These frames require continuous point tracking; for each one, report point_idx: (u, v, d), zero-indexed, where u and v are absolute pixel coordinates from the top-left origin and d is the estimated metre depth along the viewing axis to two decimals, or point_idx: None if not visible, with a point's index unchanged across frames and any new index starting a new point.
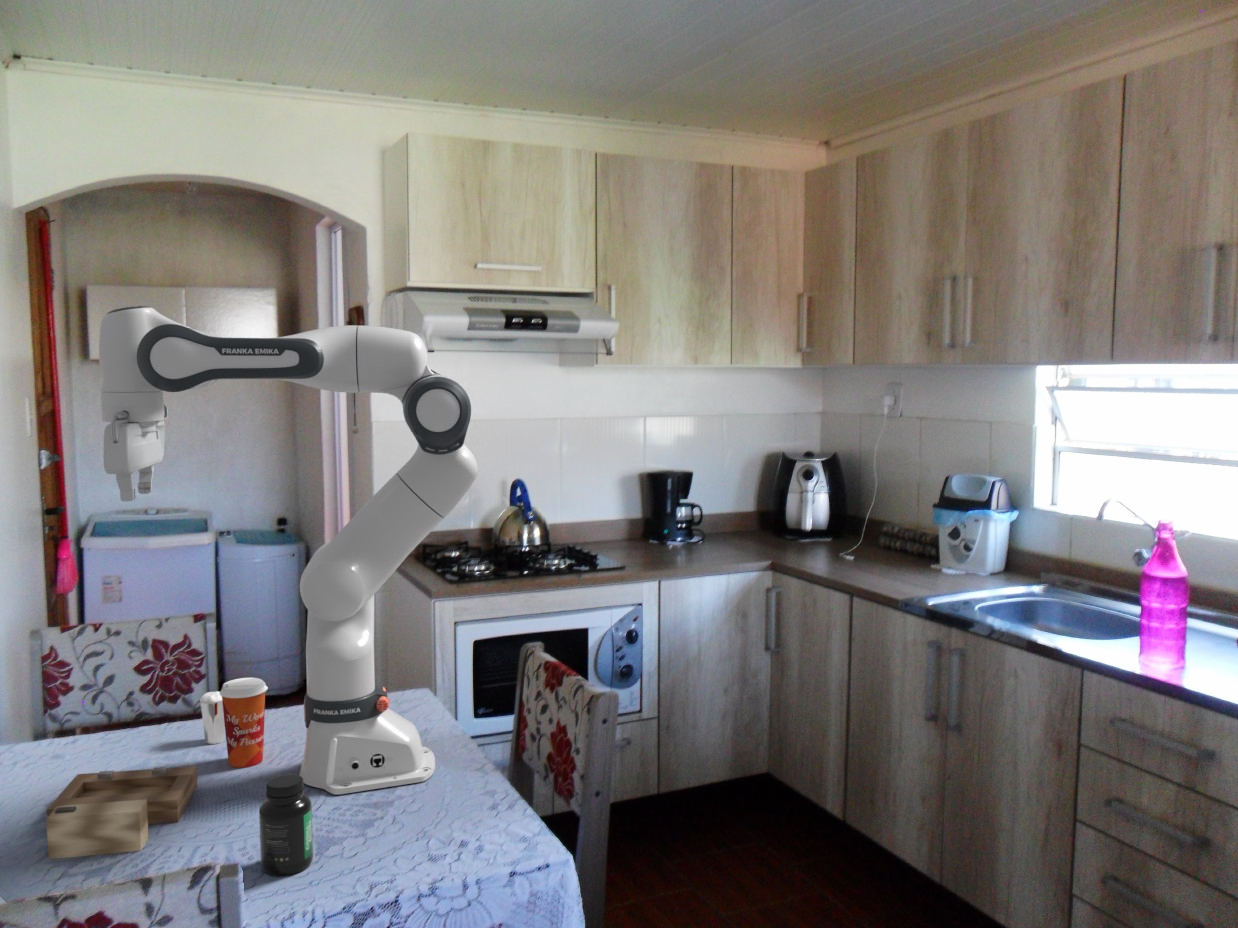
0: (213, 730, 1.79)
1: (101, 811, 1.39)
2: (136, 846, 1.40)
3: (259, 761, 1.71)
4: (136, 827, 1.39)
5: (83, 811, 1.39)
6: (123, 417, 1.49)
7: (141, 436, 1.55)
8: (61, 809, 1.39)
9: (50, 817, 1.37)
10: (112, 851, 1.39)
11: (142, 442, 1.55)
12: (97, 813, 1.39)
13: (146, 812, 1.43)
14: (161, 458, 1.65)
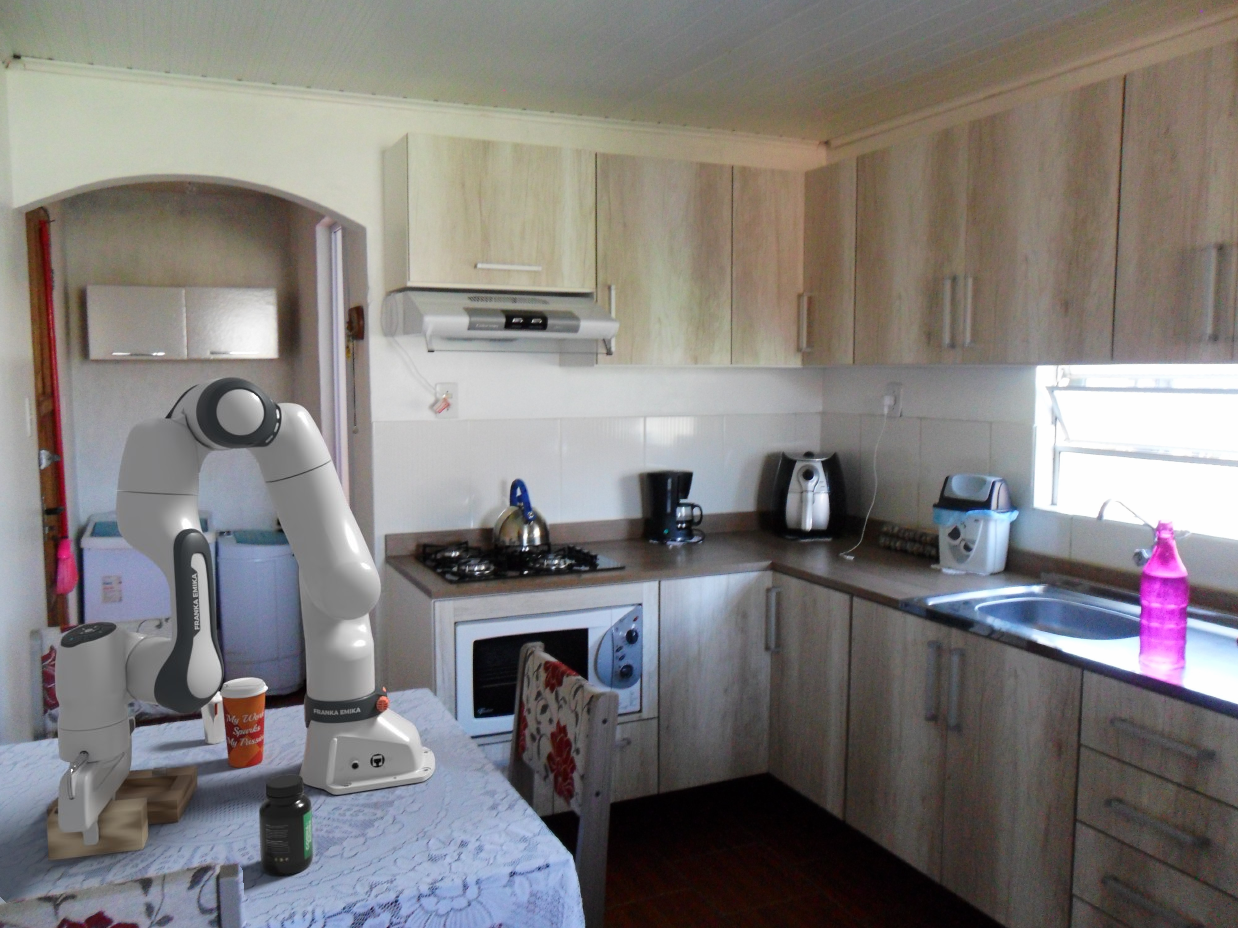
0: (213, 730, 1.79)
1: (102, 810, 1.39)
2: (138, 844, 1.40)
3: (259, 761, 1.71)
4: (138, 825, 1.40)
5: None
6: (81, 763, 1.33)
7: (103, 771, 1.38)
8: None
9: (50, 817, 1.37)
10: (113, 849, 1.39)
11: (104, 776, 1.39)
12: None
13: (146, 810, 1.43)
14: (128, 772, 1.48)
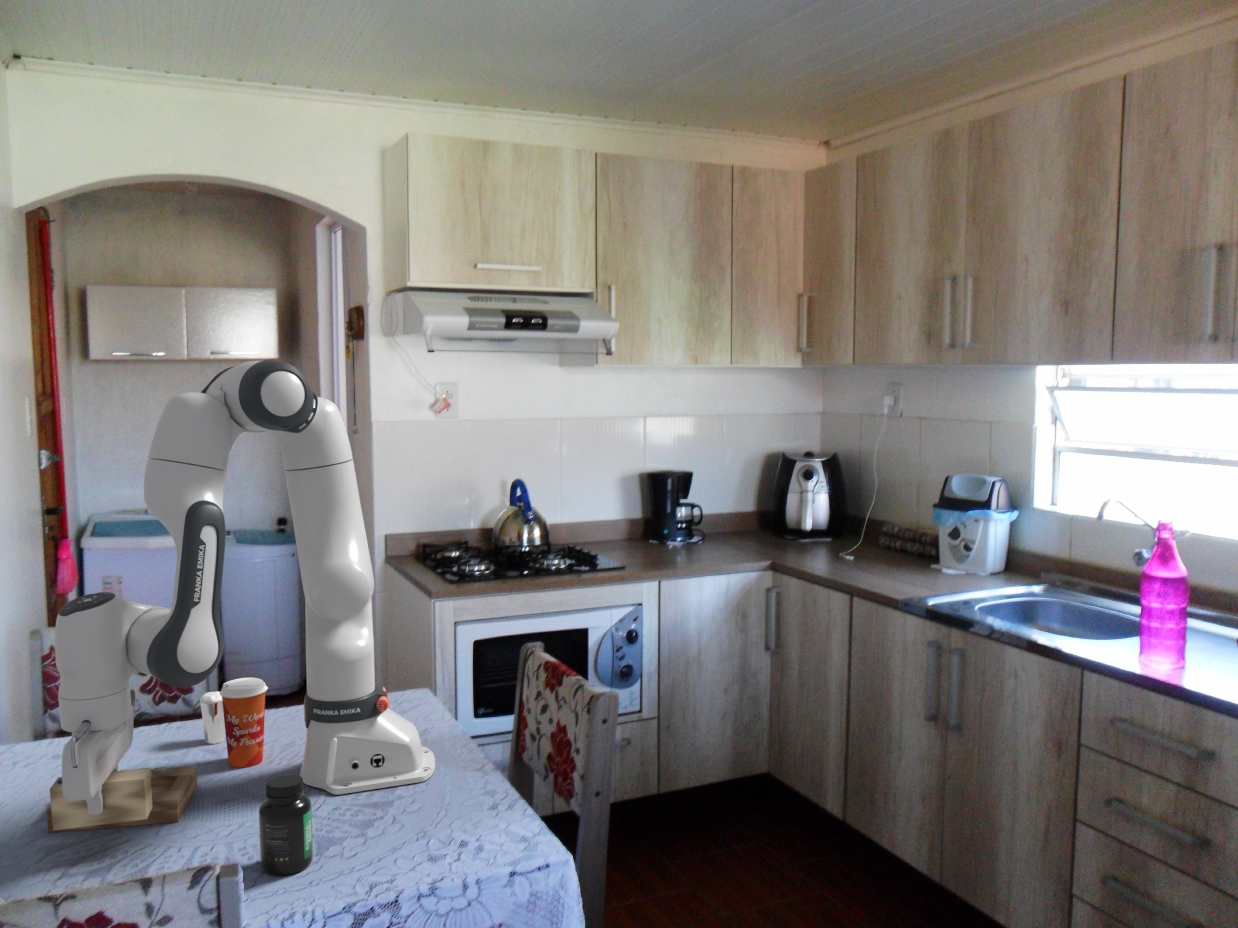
0: (213, 730, 1.79)
1: None
2: (142, 814, 1.39)
3: (259, 761, 1.71)
4: (141, 794, 1.39)
5: None
6: (84, 731, 1.32)
7: (105, 740, 1.38)
8: None
9: (53, 787, 1.37)
10: (117, 819, 1.39)
11: (107, 746, 1.38)
12: None
13: (150, 780, 1.43)
14: (130, 744, 1.48)
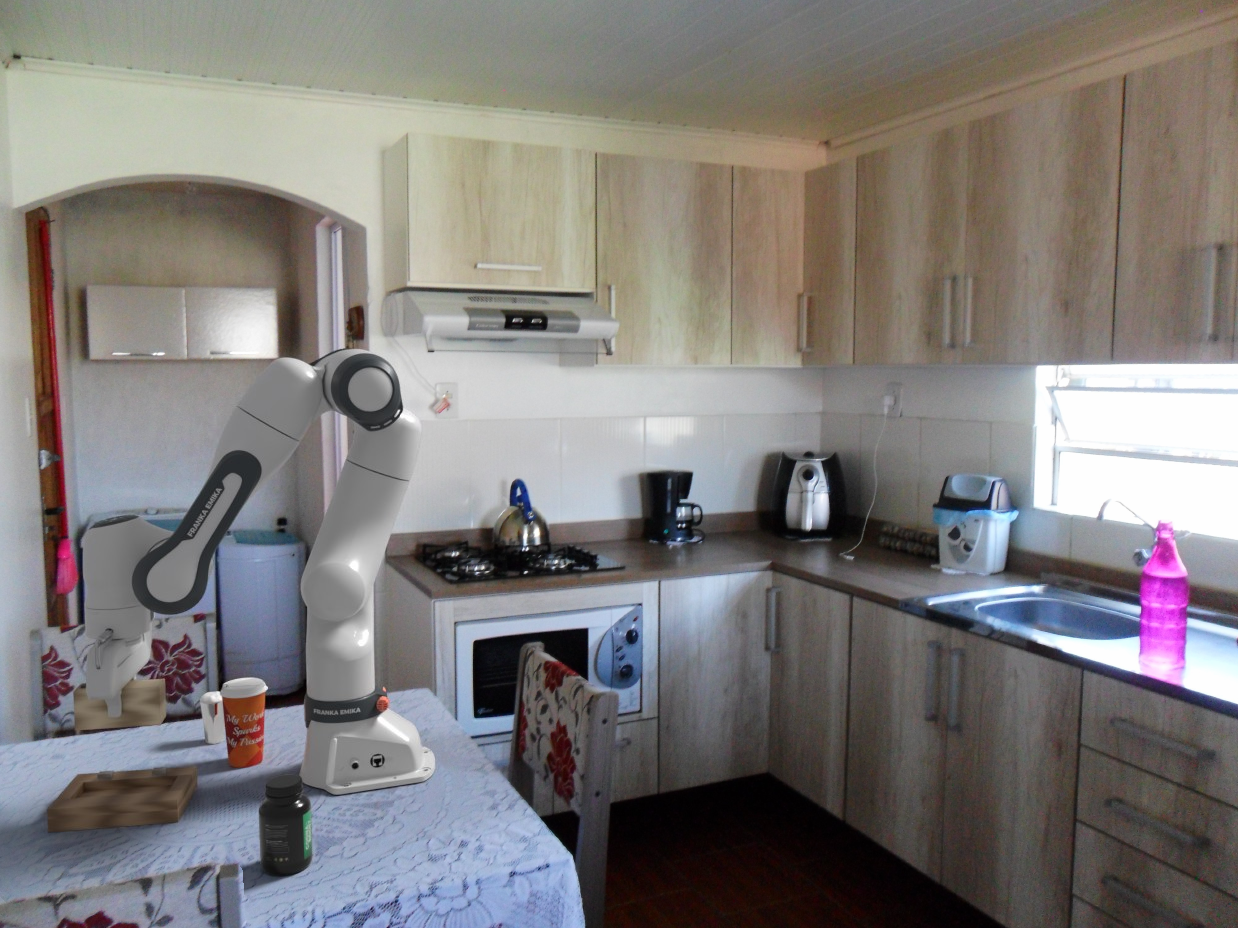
0: (213, 730, 1.79)
1: (124, 686, 1.51)
2: (156, 719, 1.51)
3: (259, 761, 1.71)
4: (156, 701, 1.51)
5: None
6: (107, 638, 1.44)
7: (126, 650, 1.50)
8: None
9: (76, 691, 1.48)
10: (134, 723, 1.51)
11: (127, 655, 1.50)
12: None
13: (164, 690, 1.54)
14: (147, 659, 1.60)
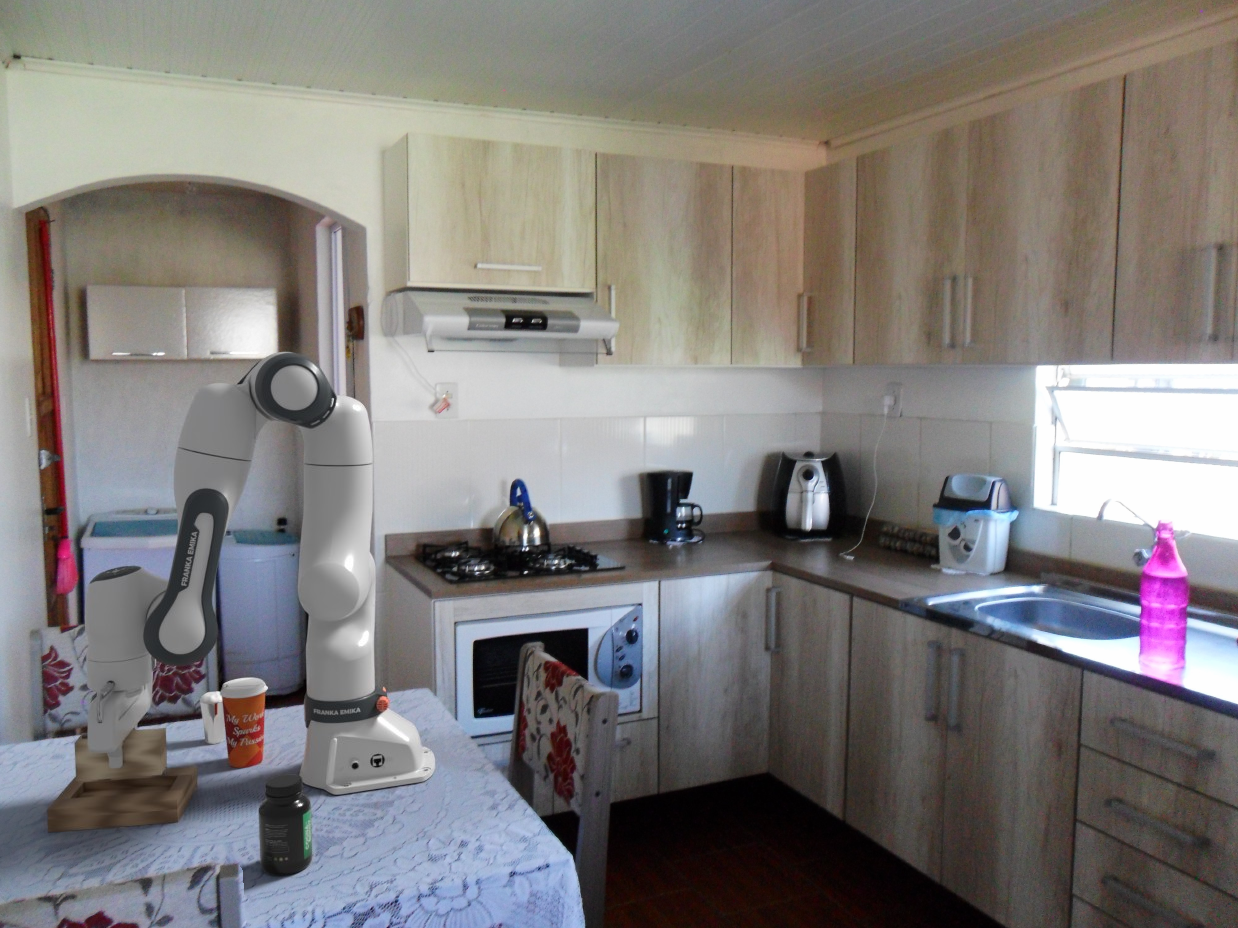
0: (213, 730, 1.79)
1: None
2: (157, 769, 1.52)
3: (259, 761, 1.71)
4: (157, 752, 1.52)
5: None
6: (108, 691, 1.45)
7: (127, 701, 1.50)
8: (87, 735, 1.51)
9: (78, 742, 1.49)
10: (135, 773, 1.51)
11: (128, 706, 1.51)
12: None
13: (165, 740, 1.55)
14: (148, 706, 1.60)
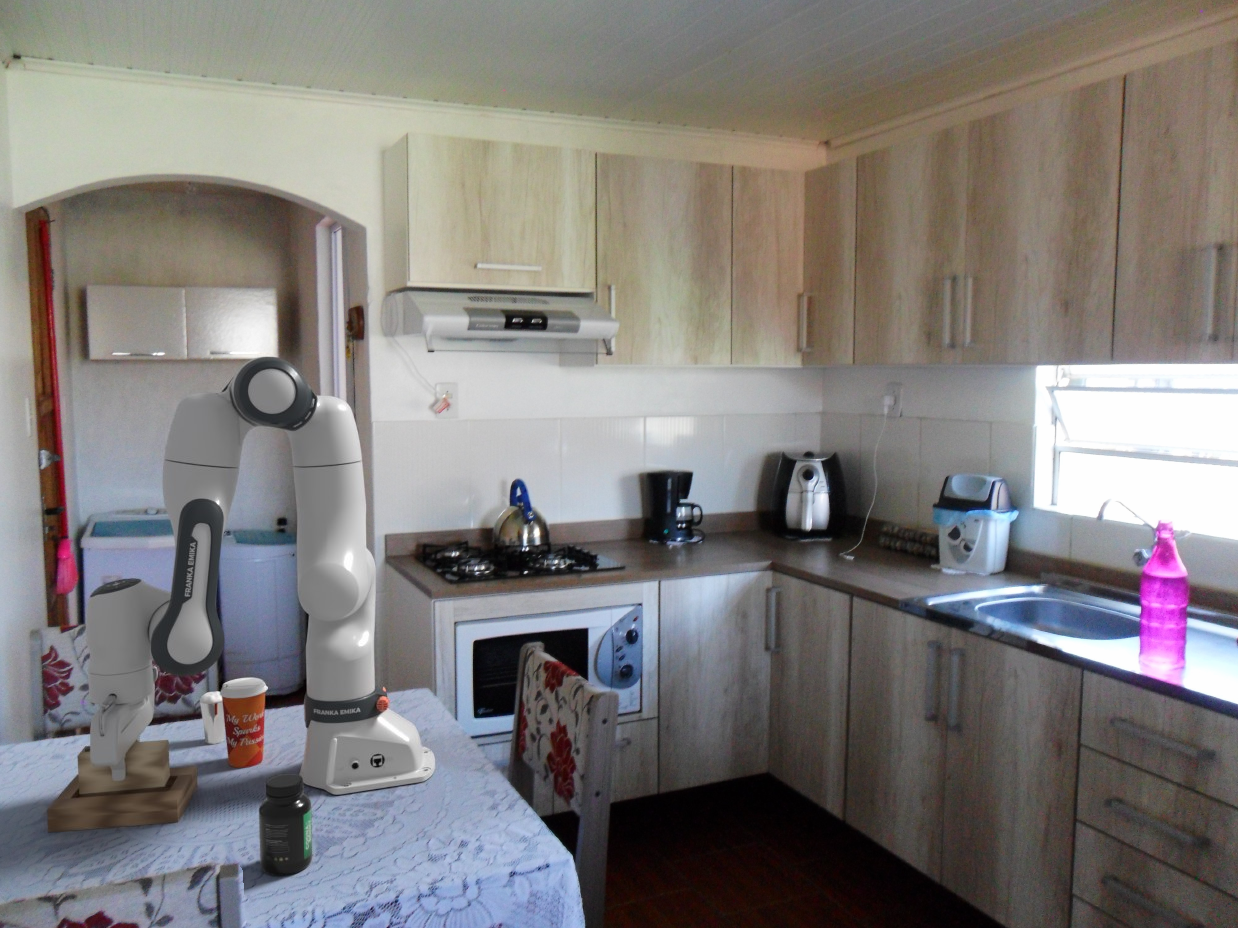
0: (213, 730, 1.79)
1: None
2: (160, 781, 1.52)
3: (259, 761, 1.71)
4: (160, 764, 1.52)
5: None
6: (110, 704, 1.45)
7: (129, 713, 1.50)
8: None
9: (80, 755, 1.49)
10: (138, 786, 1.52)
11: (130, 718, 1.51)
12: None
13: (168, 751, 1.55)
14: (151, 718, 1.61)
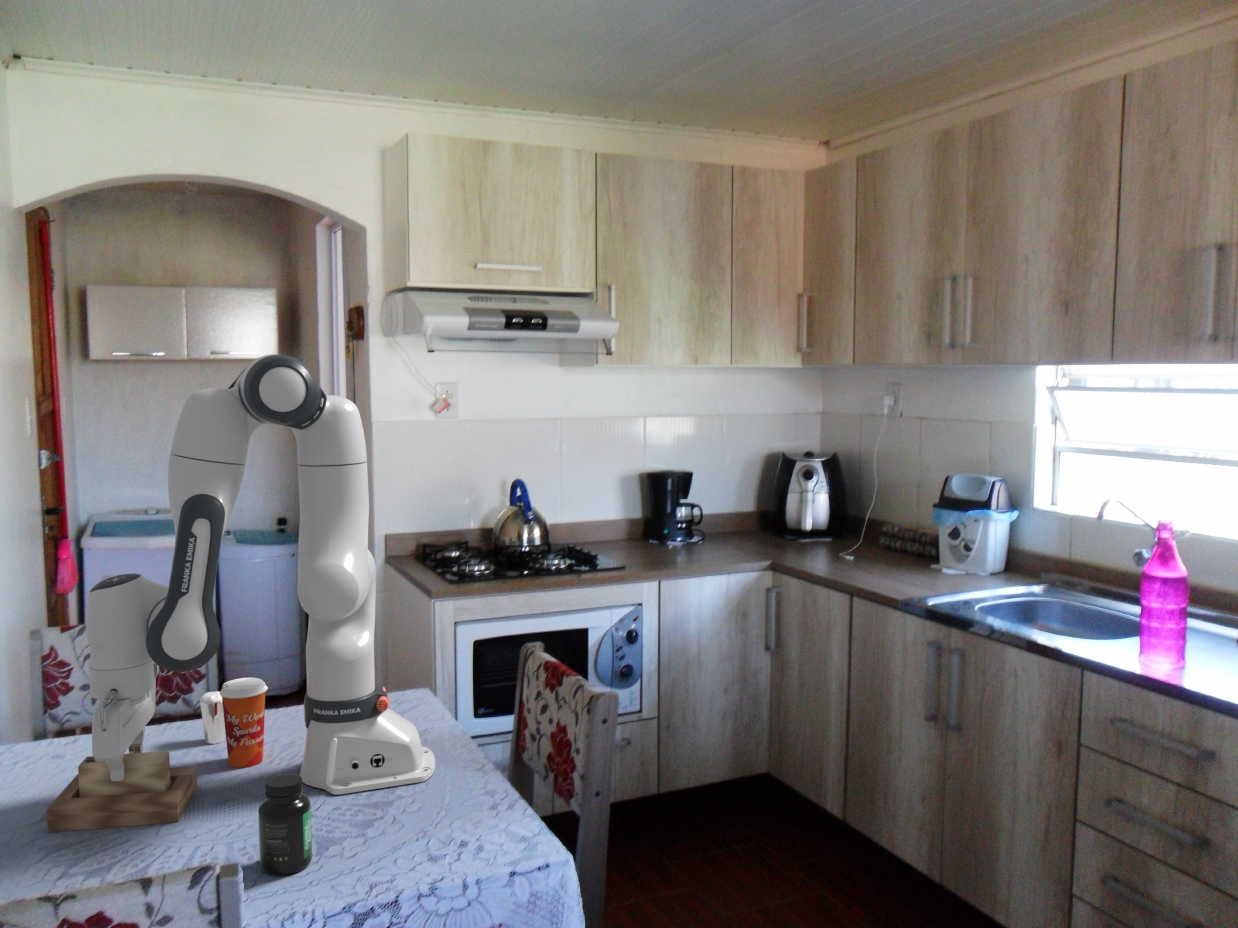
0: (213, 730, 1.79)
1: (128, 760, 1.52)
2: None
3: (259, 761, 1.71)
4: (160, 775, 1.52)
5: None
6: (112, 699, 1.45)
7: (131, 708, 1.50)
8: (91, 758, 1.51)
9: (81, 765, 1.50)
10: None
11: (132, 713, 1.51)
12: (124, 762, 1.51)
13: (168, 762, 1.55)
14: (152, 713, 1.61)
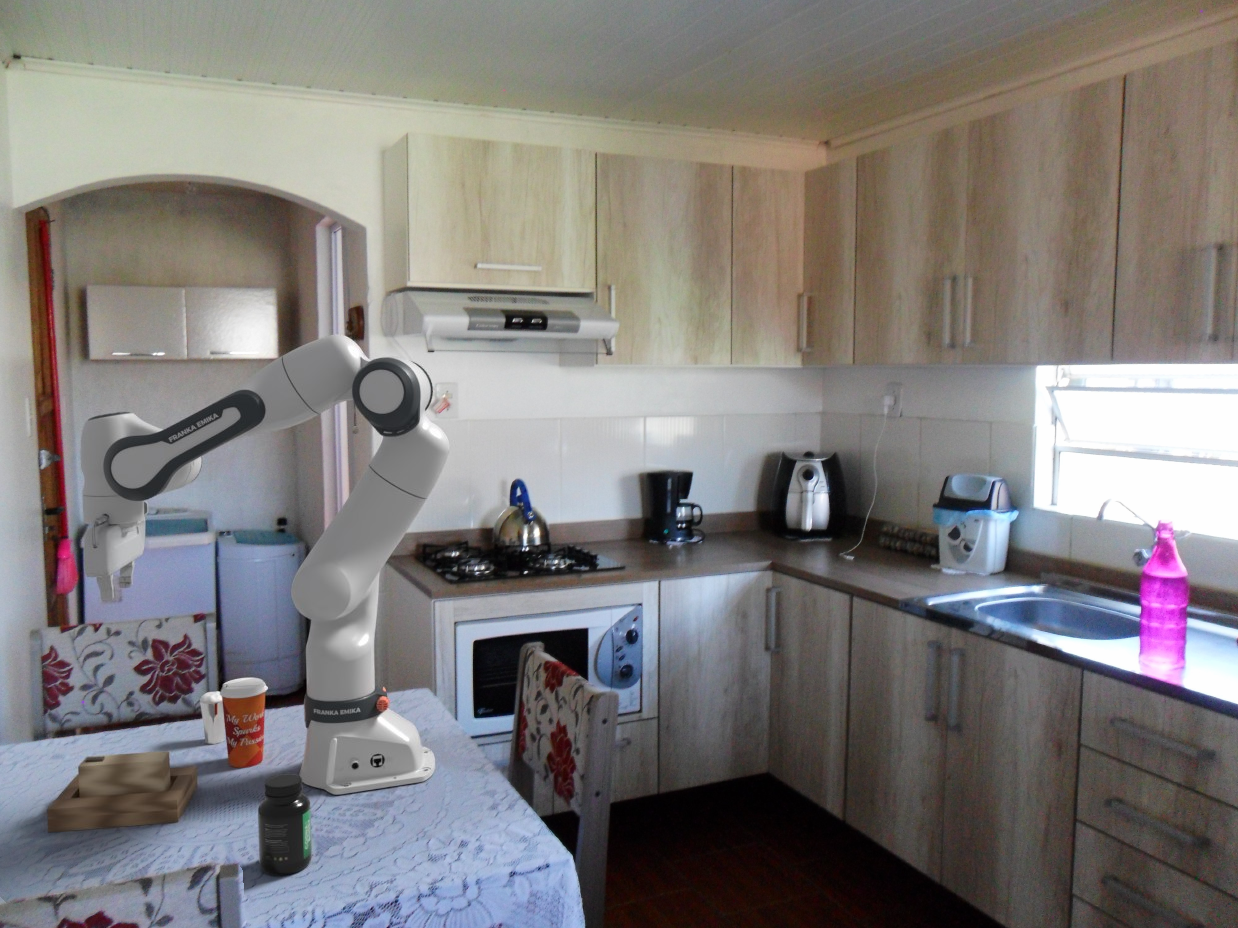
0: (213, 730, 1.79)
1: (128, 760, 1.52)
2: None
3: (259, 761, 1.71)
4: (160, 775, 1.52)
5: (111, 761, 1.51)
6: (103, 521, 1.56)
7: (121, 536, 1.61)
8: (91, 758, 1.51)
9: (81, 765, 1.50)
10: None
11: (122, 542, 1.61)
12: (124, 762, 1.51)
13: (168, 762, 1.55)
14: (141, 551, 1.71)
